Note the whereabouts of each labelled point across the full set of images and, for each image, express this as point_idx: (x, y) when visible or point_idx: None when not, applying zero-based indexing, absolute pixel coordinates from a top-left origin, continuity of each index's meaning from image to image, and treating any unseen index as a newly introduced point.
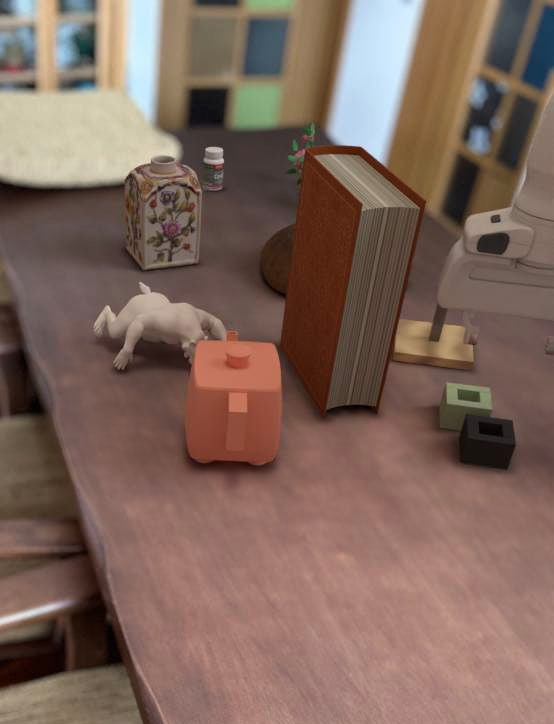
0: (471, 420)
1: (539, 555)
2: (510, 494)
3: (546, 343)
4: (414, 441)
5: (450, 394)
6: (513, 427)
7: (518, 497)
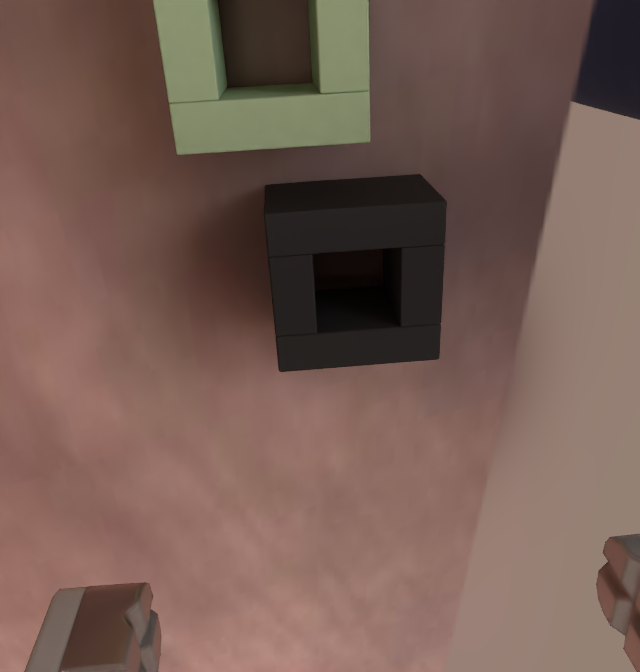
0: (286, 255)
1: (453, 579)
2: (415, 416)
3: (637, 571)
4: (120, 252)
5: (180, 62)
6: (443, 253)
7: (434, 421)
